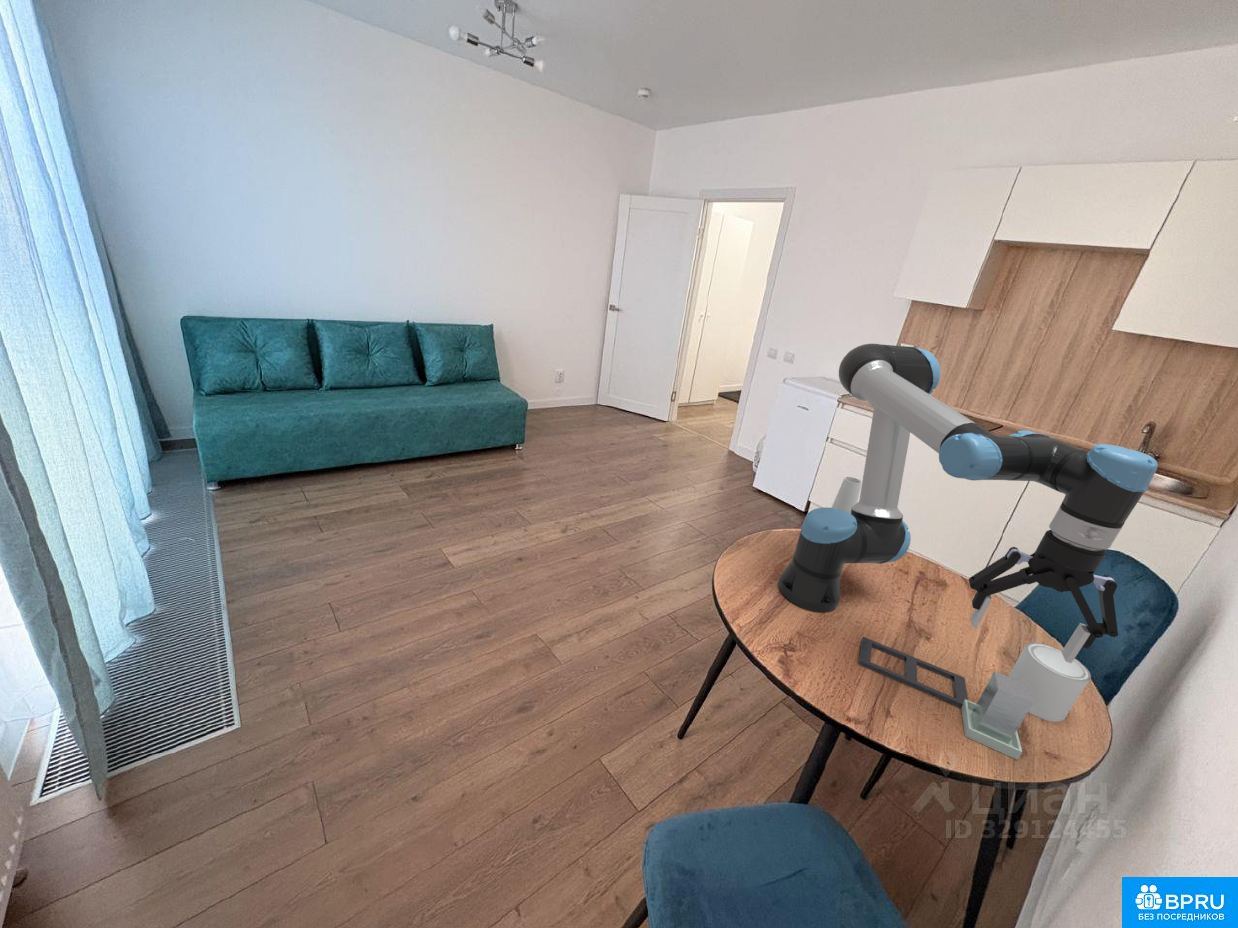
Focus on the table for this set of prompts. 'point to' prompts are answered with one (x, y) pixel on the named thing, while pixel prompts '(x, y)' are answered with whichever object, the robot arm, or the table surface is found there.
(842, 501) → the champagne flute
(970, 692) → the table surface
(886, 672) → the double window frame
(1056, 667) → the mug
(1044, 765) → the table surface
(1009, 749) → the tray
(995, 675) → the grey rectangular block
